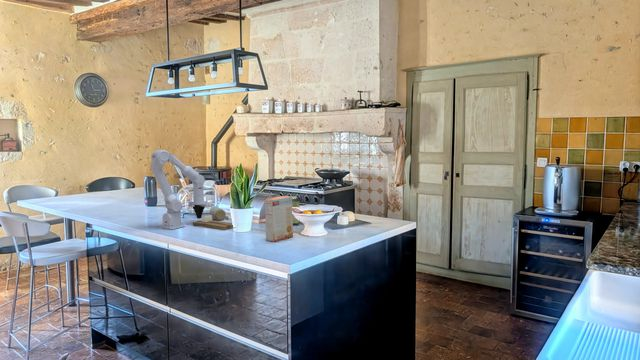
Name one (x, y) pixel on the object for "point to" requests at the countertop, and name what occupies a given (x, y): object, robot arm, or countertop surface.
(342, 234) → the countertop surface
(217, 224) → the fader console
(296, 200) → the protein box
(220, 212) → the ceramic mug
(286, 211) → the cracker box
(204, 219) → the fader knob
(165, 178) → the robot arm
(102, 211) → the countertop surface
